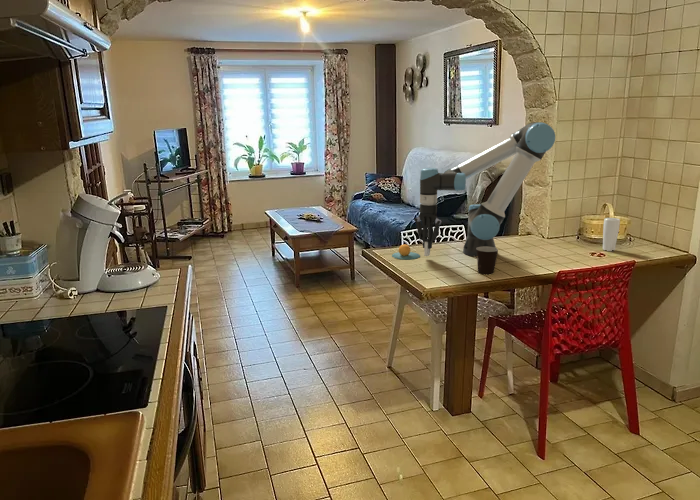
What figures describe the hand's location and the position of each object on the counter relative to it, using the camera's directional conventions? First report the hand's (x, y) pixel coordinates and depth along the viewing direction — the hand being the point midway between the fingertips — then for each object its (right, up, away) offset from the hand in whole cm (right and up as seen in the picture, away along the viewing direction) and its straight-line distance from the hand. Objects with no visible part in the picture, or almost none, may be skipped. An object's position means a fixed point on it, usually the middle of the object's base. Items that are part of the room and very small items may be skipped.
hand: (427, 255), depth 237 cm
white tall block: (+87, +2, +11) cm, 88 cm away
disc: (-9, 0, +7) cm, 11 cm away
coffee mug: (+22, -7, -19) cm, 30 cm away
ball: (-10, +2, +6) cm, 12 cm away
